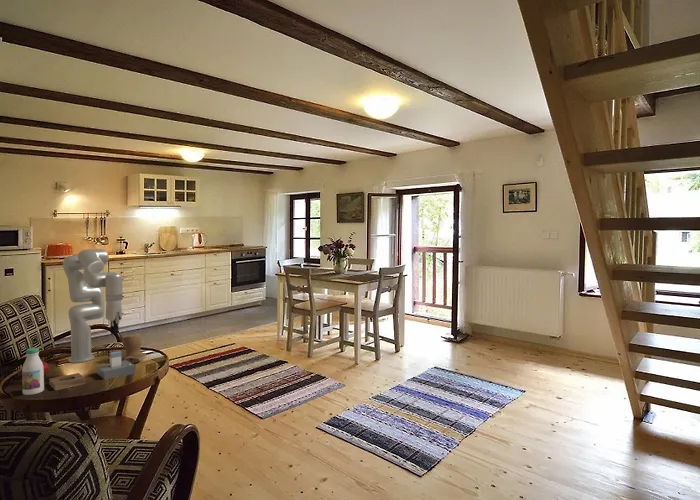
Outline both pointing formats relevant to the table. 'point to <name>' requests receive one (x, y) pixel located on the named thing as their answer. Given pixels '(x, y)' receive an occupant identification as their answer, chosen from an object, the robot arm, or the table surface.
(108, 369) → the port block
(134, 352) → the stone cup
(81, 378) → the slotted socket block
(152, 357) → the table surface
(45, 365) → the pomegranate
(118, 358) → the plug
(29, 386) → the milk bottle
